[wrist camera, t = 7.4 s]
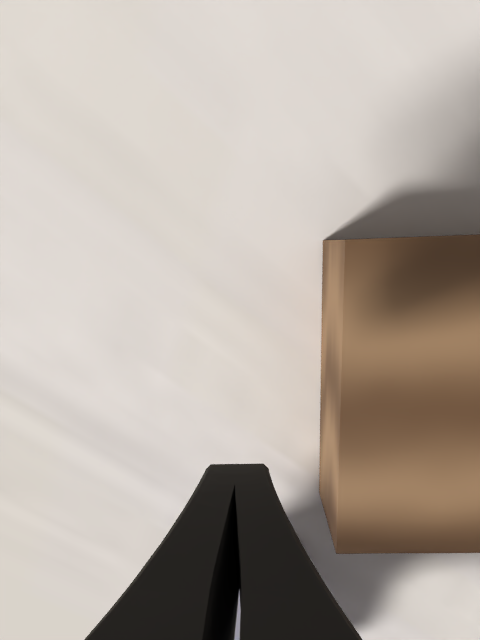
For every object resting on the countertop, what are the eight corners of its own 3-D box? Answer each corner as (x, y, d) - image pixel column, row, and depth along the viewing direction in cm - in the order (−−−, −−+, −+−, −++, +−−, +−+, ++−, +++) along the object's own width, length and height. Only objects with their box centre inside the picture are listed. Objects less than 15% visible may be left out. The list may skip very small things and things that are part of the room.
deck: (499, 490, 20) (561, 551, 16) (319, 492, 20) (336, 553, 16) (536, 232, 16) (624, 229, 13) (322, 240, 17) (345, 239, 13)
